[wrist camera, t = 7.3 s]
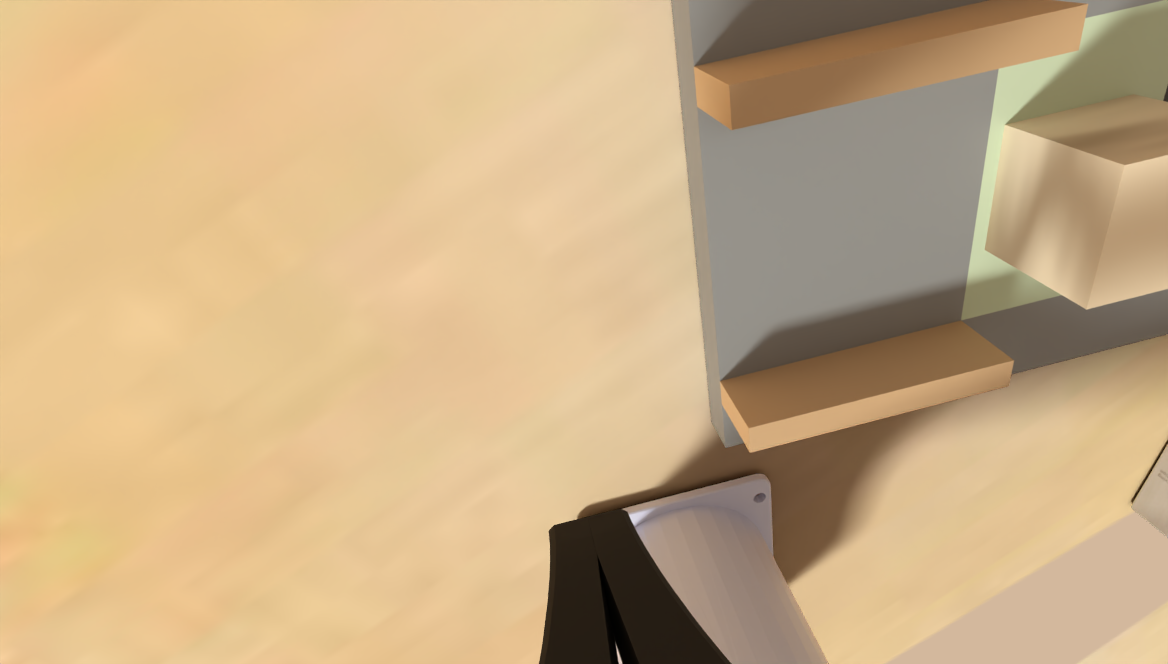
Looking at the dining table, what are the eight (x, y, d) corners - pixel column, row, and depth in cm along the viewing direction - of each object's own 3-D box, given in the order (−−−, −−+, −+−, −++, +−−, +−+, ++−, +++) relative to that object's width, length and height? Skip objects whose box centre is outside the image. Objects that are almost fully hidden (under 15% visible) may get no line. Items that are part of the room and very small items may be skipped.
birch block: (1101, 221, 21) (1223, 274, 18) (984, 250, 21) (1086, 309, 18) (1134, 94, 19) (1279, 127, 16) (1004, 125, 19) (1124, 165, 16)
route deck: (1202, 296, 26) (1316, 350, 23) (711, 421, 25) (752, 498, 21) (1379, -179, 18) (1593, -206, 15) (668, -26, 17) (723, -16, 14)
